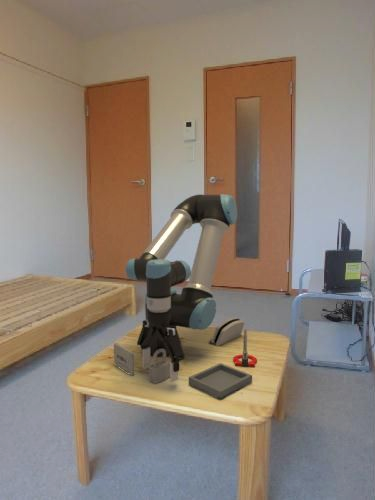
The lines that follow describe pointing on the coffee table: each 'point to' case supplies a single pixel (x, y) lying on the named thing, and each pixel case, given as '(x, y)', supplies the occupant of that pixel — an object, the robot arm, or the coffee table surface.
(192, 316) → the robot arm
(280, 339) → the coffee table surface
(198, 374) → the tray
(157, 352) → the padlock
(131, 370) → the cassette
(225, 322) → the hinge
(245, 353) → the tow hook
